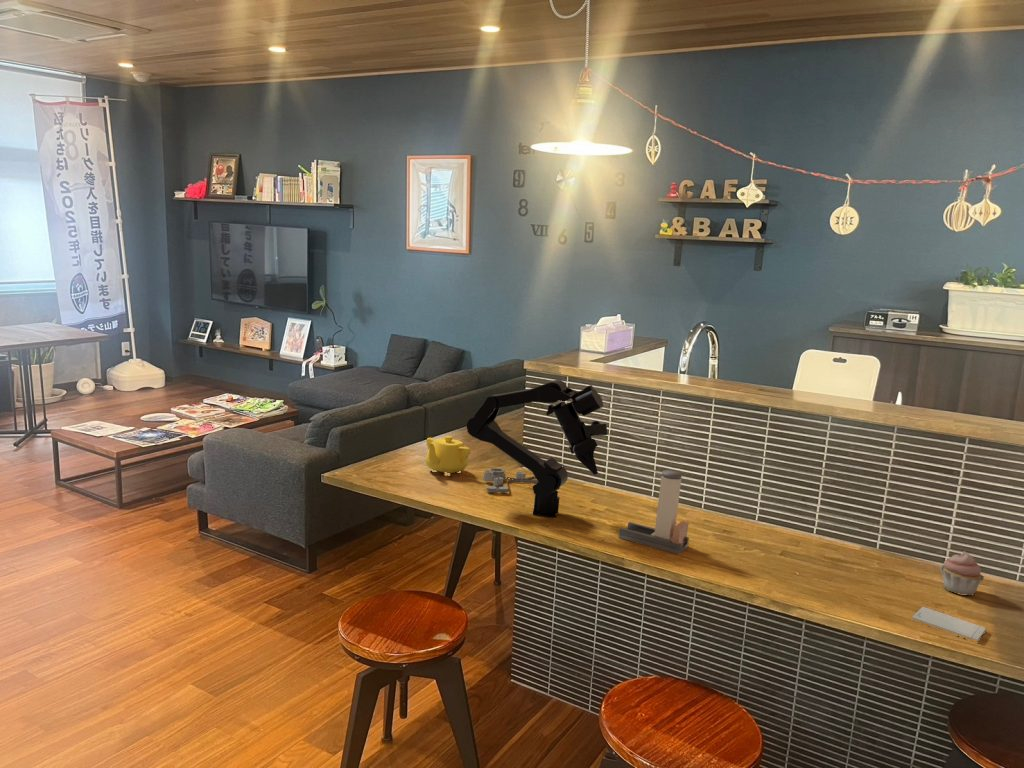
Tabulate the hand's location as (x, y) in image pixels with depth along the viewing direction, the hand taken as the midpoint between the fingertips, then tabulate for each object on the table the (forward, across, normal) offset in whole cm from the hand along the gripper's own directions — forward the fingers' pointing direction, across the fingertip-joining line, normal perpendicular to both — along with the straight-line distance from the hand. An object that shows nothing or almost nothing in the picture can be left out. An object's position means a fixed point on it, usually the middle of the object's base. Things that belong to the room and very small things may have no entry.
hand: (596, 474), depth 205 cm
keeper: (+22, -10, -7) cm, 25 cm away
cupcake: (+61, -23, -64) cm, 91 cm away
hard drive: (+58, -43, -50) cm, 88 cm away
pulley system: (-6, +33, +24) cm, 41 cm away
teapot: (-18, +38, +42) cm, 59 cm away
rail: (+21, -8, -5) cm, 24 cm away
